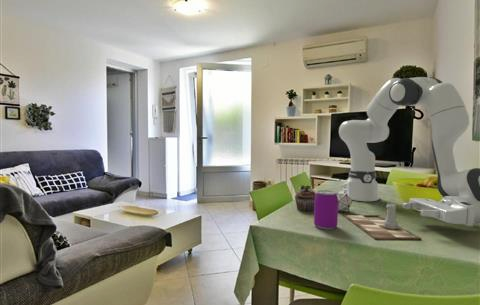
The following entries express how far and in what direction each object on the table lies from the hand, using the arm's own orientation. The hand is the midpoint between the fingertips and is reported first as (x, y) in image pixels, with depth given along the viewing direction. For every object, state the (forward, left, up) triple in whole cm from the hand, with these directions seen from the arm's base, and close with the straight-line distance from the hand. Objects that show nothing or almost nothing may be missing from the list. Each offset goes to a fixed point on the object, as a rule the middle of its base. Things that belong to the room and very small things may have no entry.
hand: (411, 209), depth 97 cm
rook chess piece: (0, -7, -7) cm, 9 cm away
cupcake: (-26, -29, -7) cm, 40 cm away
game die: (-23, -15, -7) cm, 28 cm away
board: (-3, -10, -7) cm, 12 cm away
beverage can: (-2, -28, -7) cm, 29 cm away
